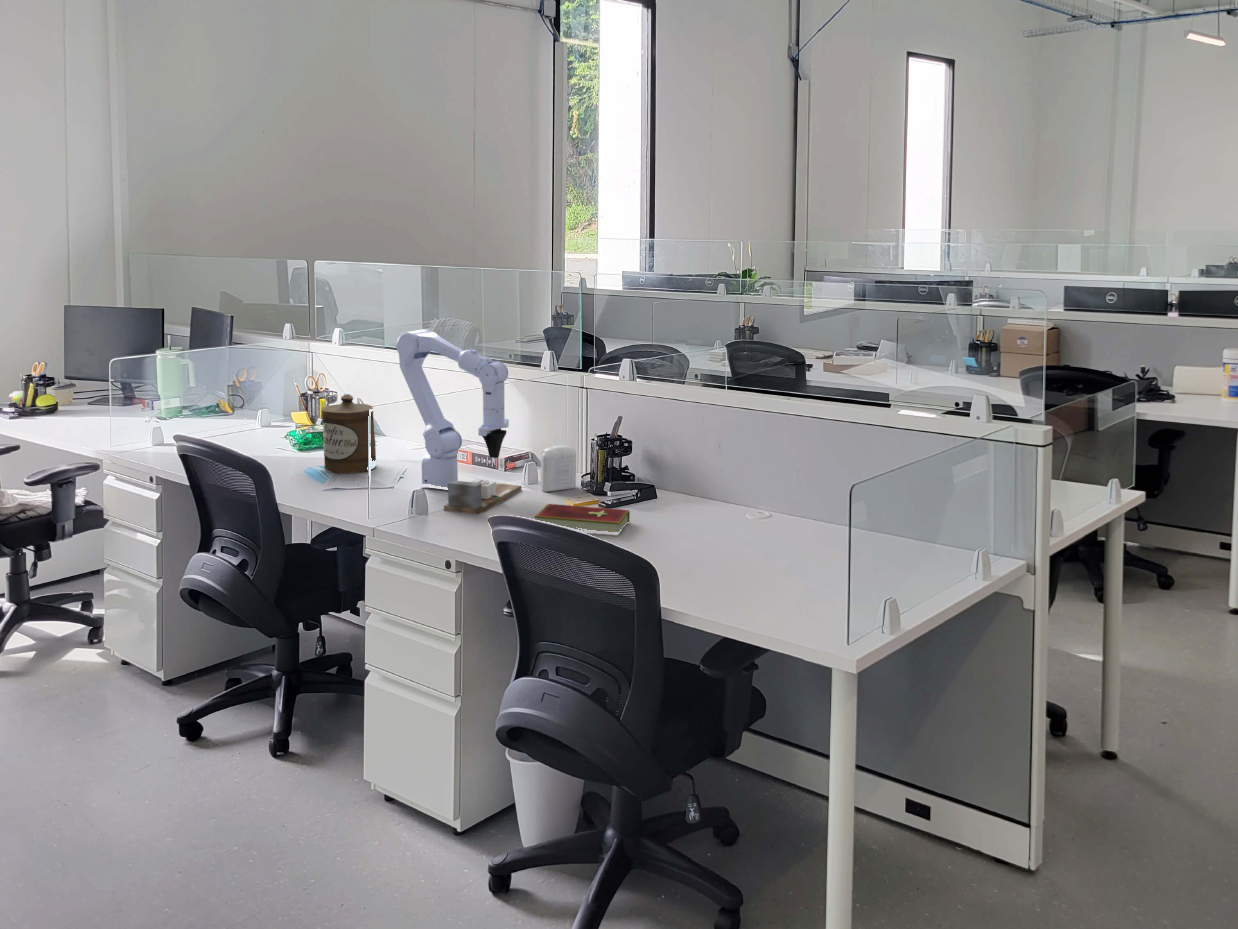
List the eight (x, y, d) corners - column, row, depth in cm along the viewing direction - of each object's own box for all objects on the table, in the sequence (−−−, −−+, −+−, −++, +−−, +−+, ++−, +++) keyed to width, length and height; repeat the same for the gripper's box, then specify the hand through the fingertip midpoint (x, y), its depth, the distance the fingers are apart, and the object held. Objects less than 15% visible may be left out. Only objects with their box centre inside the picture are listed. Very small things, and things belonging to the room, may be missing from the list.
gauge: (461, 499, 282) (461, 484, 281) (475, 492, 289) (475, 477, 288) (488, 502, 279) (488, 487, 278) (502, 495, 286) (501, 480, 285)
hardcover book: (548, 518, 273) (548, 502, 272) (629, 524, 269) (629, 508, 268) (534, 531, 262) (534, 515, 261) (619, 538, 257) (619, 521, 256)
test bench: (443, 510, 277) (443, 483, 275) (488, 486, 301) (488, 461, 299) (479, 514, 274) (478, 487, 272) (521, 490, 298) (521, 464, 296)
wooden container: (314, 469, 317) (310, 395, 312) (349, 459, 329) (346, 388, 324) (352, 476, 310) (348, 400, 305) (386, 466, 322) (384, 393, 317)
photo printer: (570, 485, 304) (570, 442, 301) (578, 488, 301) (578, 445, 298) (538, 489, 298) (538, 446, 296) (546, 493, 295) (546, 449, 292)
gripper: (495, 413, 280) (495, 464, 283) (518, 404, 293) (518, 452, 296) (471, 411, 282) (471, 461, 285) (495, 402, 295) (495, 450, 299)
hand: (494, 457), depth 291 cm, fingers closed
